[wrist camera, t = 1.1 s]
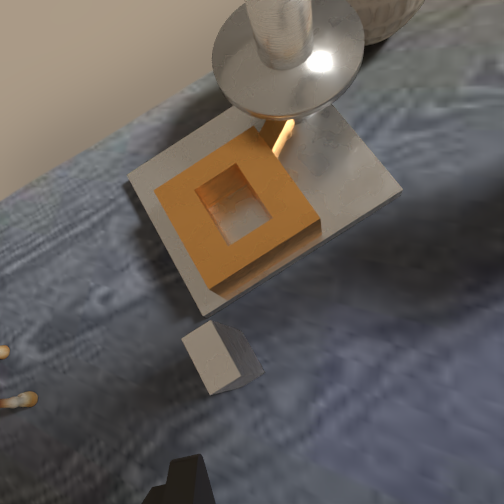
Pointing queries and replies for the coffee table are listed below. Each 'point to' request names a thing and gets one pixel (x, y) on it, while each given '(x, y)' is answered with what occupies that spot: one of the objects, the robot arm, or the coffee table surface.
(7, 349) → the horse figurine
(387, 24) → the vase
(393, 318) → the coffee table surface
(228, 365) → the grey rectangular peg
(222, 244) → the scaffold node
